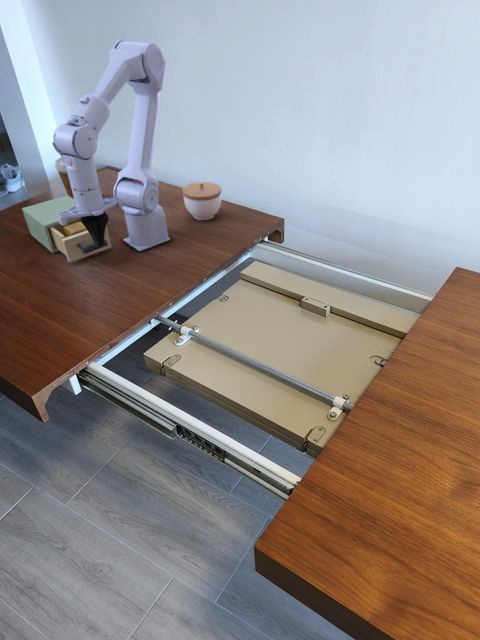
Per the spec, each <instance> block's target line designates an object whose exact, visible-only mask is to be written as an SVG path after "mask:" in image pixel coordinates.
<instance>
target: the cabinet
mask: <svg viewBox="0 0 480 640" xmlns="http://www.w3.org/2000/svg"><path fill="white" fill-rule="evenodd" d="M74 206H76V204H75V200H74V199H72V198H71V197H69V196H68V194H67V195H63V196H60V197H57V198H53V199H49V200H47V201H41V202H40V203H36V204H32V205H28V206H25V207H22V208H21V210H22V213H23V216H24V218H25V222H26V225H27V228H28V230H29V232H30V236H31V237H33V238H34V239H35V240H37V242H39V243H40V244H41V245H42V246H44V247H45V248H46V249H47V250H48V251H49V252H50V253H52V254H55V253H57V252H61V251H60V250H58V249H57V248H56V247H55V246H54V245H53V243H52V240H51V237H50V234H49V231H48V227H51V226H54V225H57V224H60V223H59V221H58V218H57V214H60V213H62V212H64V211H66V210H68V209H70V208H72V207H74Z"/></svg>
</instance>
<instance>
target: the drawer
mask: <svg viewBox="0 0 480 640" xmlns="http://www.w3.org/2000/svg"><path fill="white" fill-rule="evenodd" d="M77 222H80V220H79V219H78V220H75V221H72V222H69V223H67V225H64V226H63V225H61V224H57V225H54V226H51V227H48V231H49V234H50V237H51V240H52V243H53V245H54V246H55V247H56V248H57V249H58V250H60V251H59V252H61V253H62V254H63V255H64V256H65V257H66V259H67V262H68V263H72V262H75V261H78V260H81V259H83V258H86V257H89V256H91V255H95V254H97V253H99V252H102V251H105V250H108V249H110V248H112V243H111V238H110V234H109V229H108V225H106V229H105V235H104V245H103V246H100V247H98V246H97V245H96V244H95V243H94V241H93V239H92V237H91V235H90V233H89V232H88V230H87V231H84V232H81V233H78V234H76V235H73V236H70V237H66V233H65V230H64V227H65V226H68V225H71V224H74V223H77Z"/></svg>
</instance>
